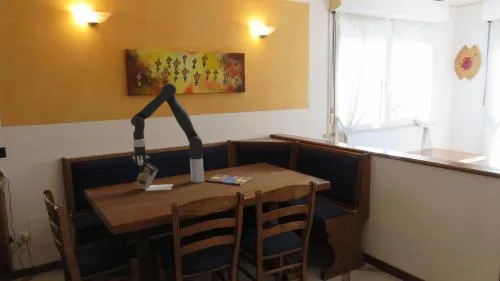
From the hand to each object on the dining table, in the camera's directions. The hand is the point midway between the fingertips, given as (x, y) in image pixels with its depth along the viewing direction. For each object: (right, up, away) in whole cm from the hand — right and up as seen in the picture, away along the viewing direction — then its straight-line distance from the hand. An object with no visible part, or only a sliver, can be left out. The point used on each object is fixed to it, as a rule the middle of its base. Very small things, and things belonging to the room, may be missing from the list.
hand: (141, 170), depth 270 cm
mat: (+12, -13, +4) cm, 18 cm away
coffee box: (0, -11, +1) cm, 11 cm away
